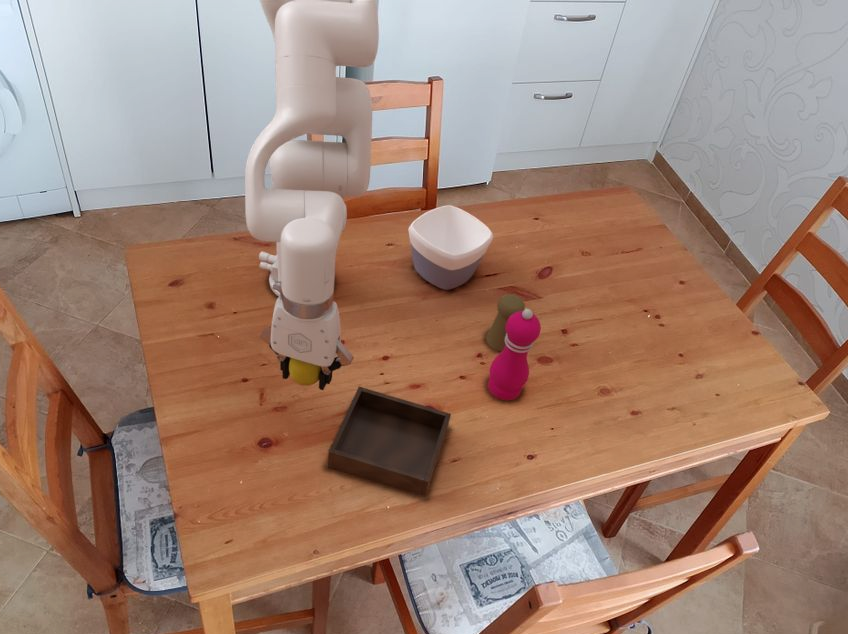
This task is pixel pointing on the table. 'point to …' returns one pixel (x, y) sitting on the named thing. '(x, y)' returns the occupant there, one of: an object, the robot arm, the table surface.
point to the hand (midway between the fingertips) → (306, 377)
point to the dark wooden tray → (389, 441)
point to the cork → (503, 320)
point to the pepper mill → (514, 356)
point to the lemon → (304, 372)
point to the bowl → (448, 245)
